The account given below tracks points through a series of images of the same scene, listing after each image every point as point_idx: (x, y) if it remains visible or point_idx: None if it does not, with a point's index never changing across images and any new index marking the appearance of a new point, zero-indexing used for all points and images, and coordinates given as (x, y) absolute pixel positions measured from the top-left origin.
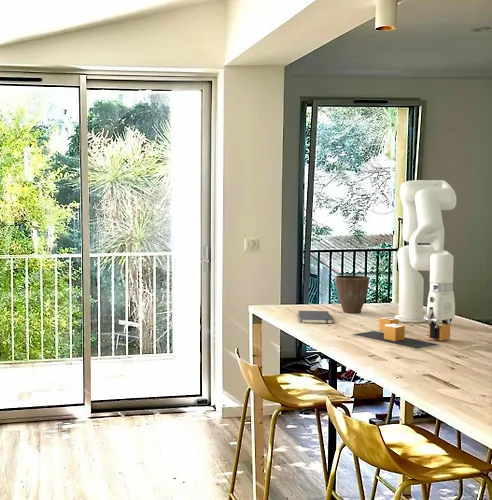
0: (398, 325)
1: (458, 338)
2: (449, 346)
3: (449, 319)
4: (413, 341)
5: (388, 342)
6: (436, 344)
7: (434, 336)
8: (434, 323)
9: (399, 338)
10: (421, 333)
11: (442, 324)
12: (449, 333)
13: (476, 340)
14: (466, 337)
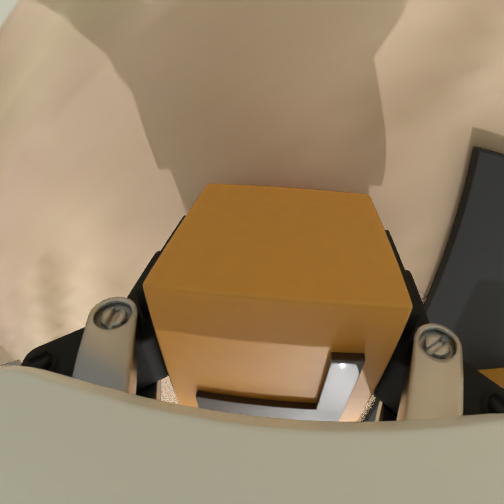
0: None
1: (58, 210)
2: (425, 63)
3: (78, 379)
4: (481, 323)
5: None
6: (495, 167)
7: (407, 270)
8: (464, 401)
9: (492, 378)
10: (170, 389)
11: (228, 366)
12: (206, 211)
13: (4, 103)
14: (6, 200)
